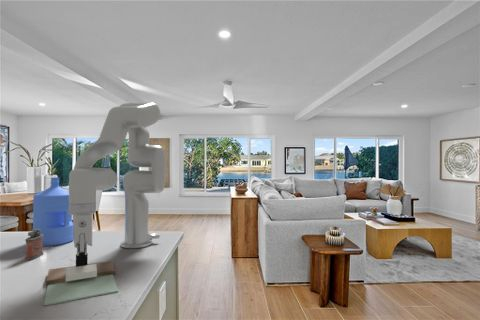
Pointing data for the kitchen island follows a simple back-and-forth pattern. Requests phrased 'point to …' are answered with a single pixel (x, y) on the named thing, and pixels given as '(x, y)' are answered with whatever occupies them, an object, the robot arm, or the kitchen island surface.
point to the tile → (81, 272)
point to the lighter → (34, 245)
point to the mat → (80, 289)
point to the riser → (60, 277)
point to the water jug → (53, 215)
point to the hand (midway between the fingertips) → (81, 267)
